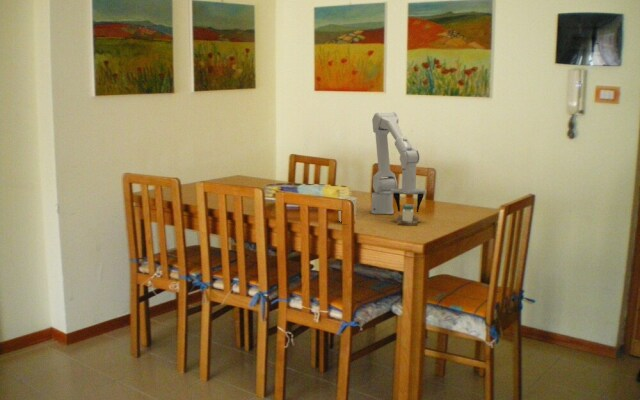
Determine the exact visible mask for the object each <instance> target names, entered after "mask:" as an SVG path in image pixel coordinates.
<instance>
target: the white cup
mask: <svg viewBox="0 0 640 400" xmlns="http://www.w3.org/2000/svg"><path fill="white" fill-rule="evenodd" d="M338 198H340V199H348V200H351V201H352V202H353V204H354V214H355V217H356V216H357V204H358V203H357V202H358V201H357V200H358V198H357V197H356V196H355V197H354V196H339V197H338ZM337 212H338V222H339V221H340V222H339V223H341V211H337Z"/></svg>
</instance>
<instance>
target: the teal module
mask: <svg viewBox="0 0 640 400" xmlns="http://www.w3.org/2000/svg"><path fill="white" fill-rule="evenodd" d="M406 204H407V203H405V204H403V205H402V208H403V209H413V205H414V204H412V205H406Z"/></svg>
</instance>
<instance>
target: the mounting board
mask: <svg viewBox="0 0 640 400" xmlns="http://www.w3.org/2000/svg"><path fill="white" fill-rule="evenodd" d="M402 218H403V214H399V215H398V219H397V222H396V223H397V224H396V225H397V226H410V227H411V226H415V227H417V226H418V222H419V221H418V220H419V215H418V214H417V215H415V214H413V220H412V221H402Z"/></svg>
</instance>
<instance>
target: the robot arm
mask: <svg viewBox="0 0 640 400" xmlns="http://www.w3.org/2000/svg"><path fill="white" fill-rule="evenodd" d="M397 114H398V113H396V112H376V113H374V114H373V117H372V118H371V119H372V121H371V123H372V129H373V130H372V131H373V133H375V134H374V135H375V142H376V143H375V144H376V156H377V157H376V158H377V167H378V170H377V172H376V173H375V174H374V175H373V176H372V179H373V180H372V189H373V192H372V194H371V206H370V208H371V212H370V213H371V214H372V215H373V214H377V215H378V214H379V215H382V214H383V215H393V214H394V211H395V210H394V207H393V206H394V201H395V203H396V206H397V212H398V213H399V212H401V205H400V203H401V195H417V196H416V197H417V199H416V201H417V203H416V213H419V210H420V205H421V203H422V201H423V199H424V196H426V195H427V189H420V188H417V187H416V186H417V164H419V162H420V153H419V150H417V149H415V148H414V147H412V145H411V143H410V141H409V139H408V138H407V137H406V136H403V133H402V131H401V129H400V126H399V117H398V115H397ZM389 133H390V134H391V136H392V137H393V139H394V146H395V148H396V150H397V151H398V154H399V162H400V168H401V169H402V170H401V171H402V172H401V173H402V174H401V188H398V181H397V178H396V174H395V172H393V171H391V165H390V153H389V151H390V150H389V140H388V139H389V138H388V135H389Z"/></svg>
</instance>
